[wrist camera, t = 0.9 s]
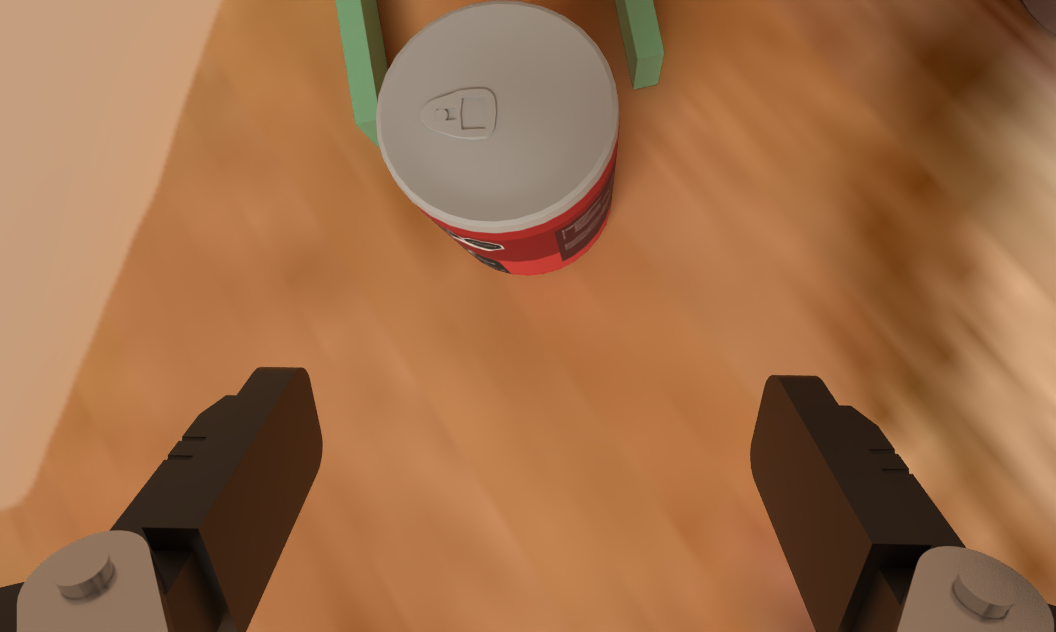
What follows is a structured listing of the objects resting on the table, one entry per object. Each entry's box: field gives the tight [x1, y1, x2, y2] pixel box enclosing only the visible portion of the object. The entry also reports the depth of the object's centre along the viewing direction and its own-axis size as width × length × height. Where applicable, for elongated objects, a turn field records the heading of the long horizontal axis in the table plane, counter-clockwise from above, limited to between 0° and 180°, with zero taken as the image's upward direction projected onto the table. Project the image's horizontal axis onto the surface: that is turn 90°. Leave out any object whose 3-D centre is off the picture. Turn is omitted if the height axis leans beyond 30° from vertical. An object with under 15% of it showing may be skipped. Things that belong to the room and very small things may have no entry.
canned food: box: [376, 0, 620, 275], centre depth 25 cm, size 8×8×11 cm
